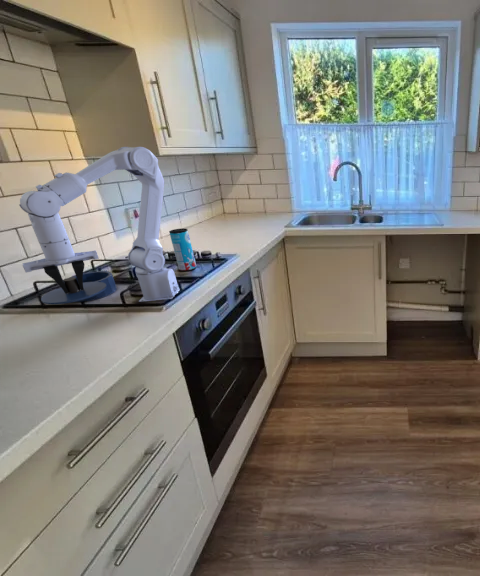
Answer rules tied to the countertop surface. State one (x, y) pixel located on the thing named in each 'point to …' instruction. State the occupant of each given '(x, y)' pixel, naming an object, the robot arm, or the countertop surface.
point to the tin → (100, 277)
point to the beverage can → (183, 249)
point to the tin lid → (73, 292)
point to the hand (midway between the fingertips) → (74, 290)
